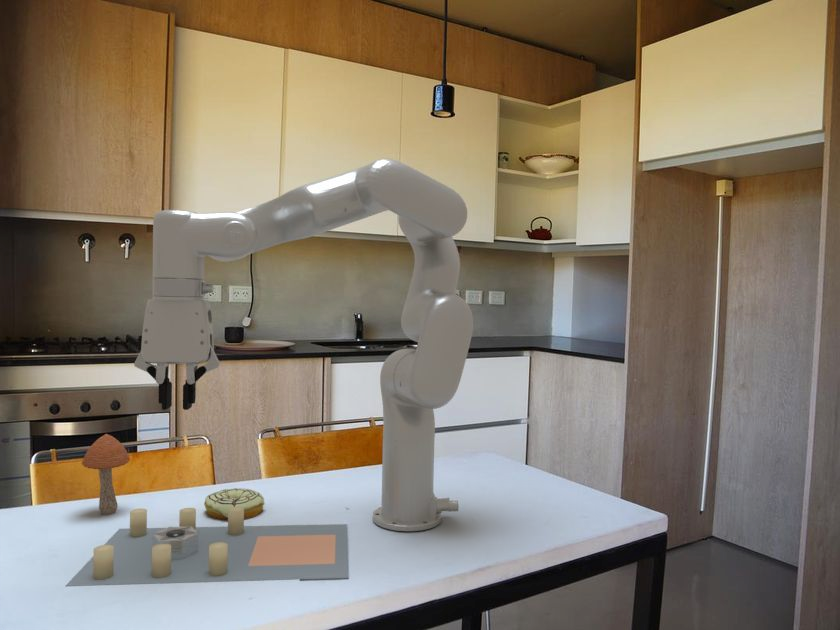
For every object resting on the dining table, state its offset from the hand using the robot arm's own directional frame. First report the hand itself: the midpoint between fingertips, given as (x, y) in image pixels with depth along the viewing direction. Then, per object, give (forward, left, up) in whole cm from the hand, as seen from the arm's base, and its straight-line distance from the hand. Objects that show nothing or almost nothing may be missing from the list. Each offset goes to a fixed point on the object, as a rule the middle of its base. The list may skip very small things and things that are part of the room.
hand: (177, 407), depth 101 cm
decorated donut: (-6, -19, -24) cm, 31 cm away
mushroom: (+17, -19, -23) cm, 35 cm away
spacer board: (-7, 0, -23) cm, 24 cm away
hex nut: (0, 0, -23) cm, 23 cm away
